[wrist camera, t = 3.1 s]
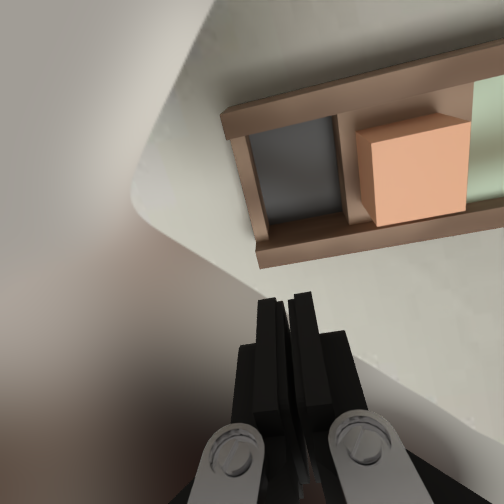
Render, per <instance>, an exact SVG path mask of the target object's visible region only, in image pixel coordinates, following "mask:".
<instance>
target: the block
mask: <svg viewBox="0 0 504 504" xmlns="http://www.w3.org/2000/svg"><path fill="white" fill-rule="evenodd" d="M470 132H471V121H467V120H463V119H460V118H456V117H452V116H449V115H445V114H441V113H434V114H429V115H425V116H420V117H416V118H412V119H407V120H403V121H398V122H394V123H390V124H385V125H381V126H376V127H372V128H367V129H363V130H359V131H355V133H356V145H357V156H358V167H359V179H360V190H361V202H362V205H363V206H364V208H365V209H366V211H367V212H368V214H369V216H370V217H371V219H372V220H373V222H374V223H375V225H376V226H377V227H379V226H384V225H390V224H395V223H401V222H406V221H412V220H417V219H423V218H428V217H434V216H439V215H445V214H450V213H456V212H461V211H465V210H466V195H467V179H468V163H469V148H470Z"/></svg>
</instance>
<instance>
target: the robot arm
mask: <svg viewBox="0 0 504 504" xmlns="http://www.w3.org/2000/svg"><path fill="white" fill-rule="evenodd" d="M288 308H289V320H290V329H289V325H288V320H287V317H286V312H285V307H284V303H283V301H278V302H277V301H276V298H275V297H274V298H268V299H262V300H258V309H257V329H256V343H253V344H246V345H241V346H240V347H239V352H238V362H237V370H236V379H235V388H234V398H233V408H232V416H231V424H230V425H228V426H225V427H223V428H221V429H220V430H219V431H217V432H216V433H215V434H214V435H213V436H212V437H211V439H210V440H209V441H208V443H207V445H206V447H205V449H204V452H203V455H202V458H201V461H200V464H199V468H198V471H197V474H196V477H195V478H194V479H193V480H192V481H191V482H190V483H189V484H188V485H187V486H186V487H185V488H184V489H183V490H181V491H180V493H178V495H176V497H175V498H174V499H173V500H171V501H170V503H168V504H300V500H299V499H300V498H304V497H303V484H307V483H310V478H309V468H308V458H307V449H308V453H309V457H310V461H311V465H312V468H313V472H314V476H315V480H316V483H320V482H321V484H322V488H323V492H324V496H325V499H326V504H492V503H490V502H489V501H487V500H485V499H484V498H482V497H481V496H479V495H478V494H476V493H474V492H473V491H471V490H470V489H468V488H467V487H465V486H463V485H462V484H460V483H458V482H457V481H455V480H454V479H452V478H451V477H449V476H448V475H446V474H444V473H443V472H441V471H440V470H438V469H437V468H435V467H433V466H432V465H430V464H429V463H427V462H426V461H424V460H422V459H421V458H419V457H418V456H416V455H414V454H413V453H411V452H410V451H408V450H407V449H405V448H404V446H403V444H402V442H401V440H400V438H399V436H398V435H397V433H396V431H395V430H394V428H393V427H392V425H391V424H390V423H389V422H388V421H386V419H384V418H383V417H382V416H381V415H378V414H376V413H374V412H371V411H368V408H367V405H366V401H365V397H364V394H363V390H362V387H361V384H360V380H359V377H358V373H357V370H356V367H355V363H354V360H353V356H352V353H351V350H350V346H349V343H348V339H347V336H346V333H345V331H344V330H342V331H335V332H328V333H321V334H319V331H318V325H317V320H316V315H315V310H314V304H313V299H312V294H311V291H310V292H304V293H298V294H294V299H290V300H288ZM306 445H307V447H306Z"/></svg>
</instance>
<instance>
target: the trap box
mask: <svg viewBox="0 0 504 504" xmlns="http://www.w3.org/2000/svg"><path fill="white" fill-rule="evenodd" d="M434 113H441V114H445V115H449V116H452V117H456V118H460V119H463V120H467V121H471V132H470V148H469V163H468V179H467V195H466V210H465V211H461V212H456V213H450V214H445V215H439V216H434V217H428V218H423V219H417V220H412V221H406V222H401V223H395V224H390V225H384V226H379V227H377V226H376V225H375V223H374V222H373V220H372V219H371V217H370V216H369V214H368V212H367V211H366V209H365V208H364V206H363V205H362V202H361V190H360V179H359V167H358V156H357V145H356V133H355V131H359V130H363V129H367V128H372V127H376V126H381V125H385V124H390V123H394V122H398V121H403V120H407V119H412V118H416V117H420V116H425V115H429V114H434ZM220 118H221V121H222V125H223V129H224V133H225V137H226V140H230V141H231V145H232V149H233V153H234V157H235V161H236V165H237V169H238V173H239V177H240V181H241V185H242V189H243V192H244V196H245V200H246V204H247V208H248V212H249V216H250V220H251V224H252V228H253V232H254V236H255V240H256V250H255V252H256V256H257V260H258V264H259V268H260V269H264V268H269V267H275V266H281V265H287V264H293V263H298V262H304V261H310V260H316V259H322V258H327V257H333V256H339V255H345V254H351V253H356V252H362V251H368V250H374V249H380V248H385V247H391V246H397V245H403V244H409V243H414V242H420V241H426V240H432V239H438V238H444V237H449V236H455V235H461V234H467V233H473V232H478V231H484V230H490V229H496V228H502V227H504V38H502V39H498V40H494V41H490V42H486V43H482V44H478V45H474V46H470V47H466V48H462V49H458V50H454V51H450V52H446V53H442V54H438V55H434V56H430V57H426V58H422V59H418V60H414V61H410V62H406V63H402V64H398V65H394V66H390V67H386V68H382V69H378V70H374V71H370V72H366V73H362V74H359V75H355V76H351V77H347V78H343V79H339V80H335V81H331V82H327V83H323V84H319V85H315V86H311V87H307V88H303V89H299V90H295V91H291V92H287V93H283V94H279V95H275V96H271V97H267V98H263V99H259V100H255V101H251V102H247V103H243V104H239V105H235V106H231V107H228V108H227V109H226V110H225V111H224V112H223V113H221V114H220Z"/></svg>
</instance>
